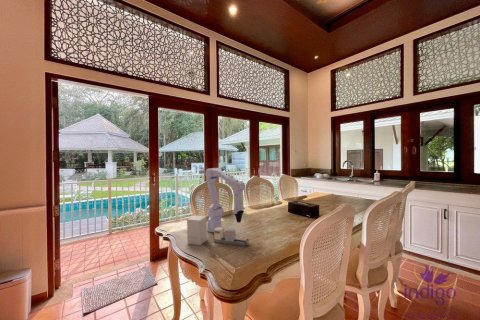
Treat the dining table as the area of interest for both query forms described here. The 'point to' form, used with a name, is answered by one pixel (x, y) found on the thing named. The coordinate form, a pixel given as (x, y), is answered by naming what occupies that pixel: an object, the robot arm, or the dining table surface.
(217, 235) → the beige rectangular block
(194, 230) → the supplement box
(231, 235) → the block
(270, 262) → the dining table surface
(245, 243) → the rail
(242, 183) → the robot arm
